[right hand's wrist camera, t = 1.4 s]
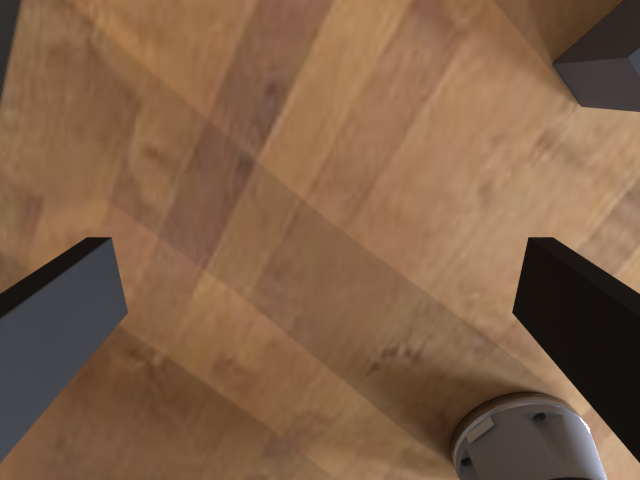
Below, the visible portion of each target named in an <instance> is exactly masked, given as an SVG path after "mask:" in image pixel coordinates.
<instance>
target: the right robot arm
mask: <svg viewBox="0 0 640 480" xmlns="http://www.w3.org/2000/svg"><path fill="white" fill-rule="evenodd" d="M127 313H128V312H127V307H126V302H125V298H124V293H123V288H122V284H121V279H120V275H119V270H118V265H117V261H116V256H115V251H114V247H113V242H112V237H87V238H85V239H84V240H82V241H81V242H79V243H78V244H76V245H75V246H73V247H72V248H70V249H69V250H67V251H65V252H64V253H62V254H61V255H59V256H58V257H56V258H55V259H53V260H52V261H50V262H49V263H47V264H46V265H44V266H42V267H41V268H39V269H38V270H36V271H35V272H33V273H32V274H30V275H29V276H27V277H26V278H24V279H22V280H21V281H19V282H18V283H16V284H15V285H13V286H12V287H10V288H9V289H7V290H6V291H4V292H3V293H1V294H0V463H1V462H2V460H3V459H4V458H5V457H6V456H7V454H8V453H9V452H10V451H11V450H12V449H13V447H14V446H15V445H16V444H17V443H18V441H19V440H20V439H21V438H22V437H23V436H24V434H25V433H26V432H27V431H28V430H29V428H30V427H31V426H32V425H33V424H34V423H35V421H36V420H37V419H38V418H39V417H40V415H41V414H42V413H43V412H44V411H45V410H46V408H47V407H48V406H49V405H50V404H51V403H52V401H53V400H54V399H55V398H56V397H57V395H58V394H59V393H60V392H61V391H62V390H63V388H64V387H65V386H66V385H67V384H68V382H69V381H70V380H71V379H72V378H73V377H74V375H75V374H76V373H77V372H78V371H79V369H80V368H81V367H82V366H83V365H84V364H85V362H86V361H87V360H88V359H89V358H90V356H91V355H92V354H93V353H94V352H95V351H96V349H97V348H98V347H99V346H100V345H101V344H102V342H103V341H104V340H105V339H106V338H107V336H108V335H109V334H110V333H111V332H112V331H113V329H114V328H115V327H116V326H117V325H118V323H119V322H120V321H121V320H122V319H123V318H124V316H125V315H126V314H127ZM512 313H513V314H514V315H515V316H516V318H517V319H518V320H519V321H520V322H521V323H522V325H523V326H524V327H525V328H526V329H527V331H528V332H529V333H530V334H531V335H532V336H533V338H534V339H535V340H536V341H537V342H538V344H539V345H540V346H541V347H542V348H543V349H544V351H545V352H546V353H547V354H548V355H549V356H550V358H551V359H552V360H553V361H554V362H555V364H556V365H557V366H558V367H559V368H560V369H561V371H562V372H563V373H564V374H565V375H566V377H567V378H568V379H569V380H570V381H571V382H572V384H573V385H574V386H575V387H576V388H577V390H578V391H579V392H580V393H581V394H582V395H583V397H584V398H585V399H586V400H587V401H588V403H589V404H590V405H591V406H592V407H593V408H594V410H595V411H596V412H597V413H598V414H599V415H600V417H601V418H602V419H603V420H604V421H605V423H606V424H607V425H608V426H609V427H610V428H611V430H612V431H613V432H614V433H615V434H616V436H617V437H618V438H619V439H620V440H621V441H622V443H623V444H624V445H625V446H626V447H627V449H628V450H629V451H630V452H631V453H632V454H633V456H634V457H635V458H636V459H637V460H638V462H639V463H640V294H639V293H637V292H636V291H634V290H633V289H631V288H630V287H628V286H627V285H625V284H624V283H622V282H621V281H619V280H618V279H616V278H614V277H613V276H611V275H610V274H608V273H607V272H605V271H604V270H602V269H601V268H599V267H598V266H596V265H594V264H593V263H591V262H590V261H588V260H587V259H585V258H584V257H582V256H581V255H579V254H578V253H576V252H575V251H573V250H571V249H570V248H568V247H567V246H565V245H564V244H562V243H561V242H559V241H558V240H556V239H555V238H553V237H528V242H527V247H526V251H525V256H524V261H523V265H522V270H521V275H520V279H519V284H518V288H517V293H516V298H515V302H514V307H513V312H512ZM450 453H451V458H452V461H453V464H454V467H455V469H456V472H457V475H458V477H459V478H460V480H607V478H606V475H605V472H604V470H603V467H602V464H601V461H600V458H599V455H598V452H597V450H596V447H595V444H594V441H593V438H592V436H591V433H590V431H589V429H588V427H587V425H586V424H585V422H584V421H583V420H582V419H581V417H580V416H579V415H578V414H577V412H576V411H575V410H574V409H573V408H572V407H571V406H570V405H569V404H567V403H566V402H564V401H563V400H561V399H558V398H556V397H553V396H550V395H546V394H540V393H518V394H511V395H507V396H503V397H500V398H497V399H494V400H492V401H489V402H487V403H485V404H483V405H481V406H480V407H478V408H477V409H475V410H474V411H472V412H471V413H470V414H469V415H468V416H467V417H466V418H465V419H464V420H463V421H462V422H461V423H460V424H459V426H458V427H457V429H456V431H455V432H454V435H453V437H452V441H451V446H450Z"/></svg>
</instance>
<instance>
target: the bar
mask: <svg viewBox="0 0 640 480" xmlns="http://www.w3.org/2000/svg"><path fill="white" fill-rule="evenodd" d="M552 65H553V66H554V67H555V69H556V70H557V72H558V73H559V75H560V76H561V78H562V79H563V80H564V82H565V83H566V85H567V86H568V88H569V89H570V91H571V92H572V94H573V95H574V96H575V98H576V99H577V101H578V102H579V104H580V105H581V107H589V108H601V109H612V110H624V111H635V112H640V0H624V1H623V2H621V3H620V4H619V5H618V6H617V7H616V8H615V9H614V10H612V11H611V12H610V13H609V14H608V15H607V16H606V17H604V18H603V19H602V20H601V21H600V22H599V23H598V24H597V25H595V26H594V27H593V28H592V29H591V30H590V31H589V32H588V33H586V34H585V35H584V36H583V37H582V38H581V39H580V40H578V41H577V42H576V43H575V44H574V45H573V46H572V47H571V48H569V49H568V50H567V51H566V52H565V53H564V54H563V55H562V56H560V57H559V58H558V59H557V60H556V61H555V62H554V63H553V64H552Z"/></svg>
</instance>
